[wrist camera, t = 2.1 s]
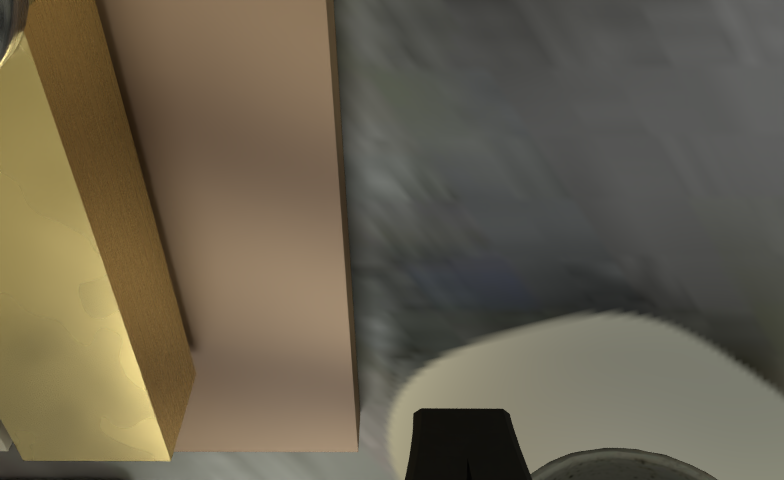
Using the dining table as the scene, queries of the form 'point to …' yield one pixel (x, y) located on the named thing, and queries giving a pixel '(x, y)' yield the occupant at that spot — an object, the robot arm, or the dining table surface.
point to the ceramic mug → (618, 466)
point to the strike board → (247, 212)
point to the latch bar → (79, 254)
